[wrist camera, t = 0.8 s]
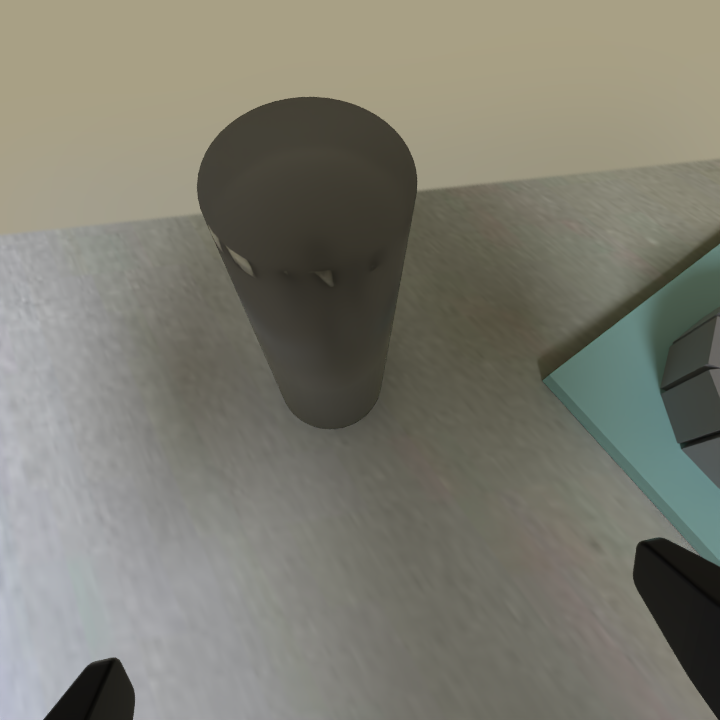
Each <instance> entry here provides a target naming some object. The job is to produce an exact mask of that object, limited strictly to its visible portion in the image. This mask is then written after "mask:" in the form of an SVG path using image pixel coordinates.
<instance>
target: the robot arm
mask: <svg viewBox="0 0 720 720" xmlns="http://www.w3.org/2000/svg"><path fill="white" fill-rule="evenodd" d="M633 580H634V583H635V586H636V588H637V590H638V592H639V594H640V595H641V597H642V599H643V600H644V602H645V604H646V606H647V607H648V609H649V611H650V612H651V614H652V616H653V618H654V619H655V621H656V623H657V624H658V626H659V628H660V630H661V631H662V633H663V635H664V636H665V638H666V640H667V642H668V643H669V645H670V647H671V649H672V650H673V652H674V654H675V655H676V657H677V659H678V661H679V662H680V664H681V665H682V667H683V669H684V670H685V672H686V674H687V675H688V677H689V678H690V680H691V681H692V683H693V684H694V686H695V687H696V689H697V690H698V692H699V693H700V694H701V696H702V697H703V699H704V700H705V702H706V703H707V704H708V706H709V707H710V709H711V710H712V711H713V713H714V714H715V716H716V717H717V719H718V720H720V566H718V565H716V564H714V563H712V562H710V561H708V560H706V559H704V558H702V557H700V556H698V555H696V554H695V553H693V552H691V551H689V550H687V549H685V548H683V547H681V546H679V545H677V544H675V543H673V542H671V541H669V540H667V539H664V538H653V539H648V540H644V541H641V542H639V543H638V545H637V547H636V554H635V562H634V569H633ZM134 707H135V693H134V689H133V686H132V684H131V682H130V680H129V678H128V676H127V674H126V672H125V669H124V667H123V665H122V663H121V662H120V660H119V659H117V658H108V659H104V660H99V661H95V662H92V663H91V664H89V665H88V666H87V667H86V668H85V669H84V670H83V671H82V673H81V674H80V675H79V676H78V678H77V679H76V680H75V681H74V682H73V684H72V685H71V686H70V687H69V689H68V690H67V691H66V692H65V694H64V695H63V696H62V697H61V698H60V700H59V701H58V702H57V703H56V705H55V706H54V707H53V708H52V710H51V711H50V712H49V713H48V715H47V716H46V717H45V718H44V719H43V720H133V715H134Z"/></svg>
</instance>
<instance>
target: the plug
mask: <svg viewBox="0 0 720 720" xmlns="http://www.w3.org/2000/svg"><path fill="white" fill-rule="evenodd" d="M197 192H198V200H199V204H200V209H201V211H202V214H203V216H204V218H205V221H206V223H207V225H208V227H209V230H210V232H211V234H212V237H213V239H214V241H215V243H216V246H217V248H218V250H219V252H220V255H221V257H222V259H223V262H224V264H225V266H226V268H227V271H228V273H229V275H230V277H231V280H232V282H233V284H234V286H235V289H236V291H237V293H238V296H239V298H240V300H241V302H242V305H243V307H244V309H245V311H246V314H247V316H248V318H249V321H250V323H251V325H252V327H253V330H254V332H255V334H256V336H257V339H258V341H259V343H260V346H261V348H262V350H263V352H264V355H265V357H266V359H267V361H268V364H269V366H270V368H271V370H272V373H273V375H274V377H275V380H276V382H277V384H278V386H279V389H280V391H281V393H282V395H283V398H284V400H285V402H286V404H287V406H288V407H289V409H290V410H291V411H292V412H293V414H294V415H296V416H297V417H298V418H299V419H300V420H302V421H303V422H305V423H307V424H309V425H312V426H314V427H318V428H323V429H337V428H343V427H346V426H349V425H351V424H354V423H356V422H357V421H359V420H361V419H362V418H363V417H364V416H366V415H367V414H368V412H369V411H370V410H371V409H372V408H373V406H374V405H375V403H376V401H377V399H378V396H379V393H380V389H381V384H382V378H383V373H384V368H385V362H386V357H387V351H388V346H389V340H390V335H391V329H392V324H393V319H394V313H395V308H396V302H397V297H398V291H399V286H400V280H401V275H402V270H403V264H404V259H405V253H406V248H407V242H408V237H409V231H410V226H411V221H412V215H413V210H414V204H415V199H416V193H417V174H416V168H415V164H414V160H413V158H412V155H411V153H410V151H409V149H408V147H407V145H406V144H405V142H404V141H403V139H402V138H401V137H400V136H399V134H398V133H397V132H396V131H395V130H394V129H393V128H392V127H391V126H390V125H389V124H388V123H386V122H385V121H384V120H382V119H381V118H380V117H378V116H377V115H375V114H373V113H371V112H370V111H367V110H366V109H364V108H361V107H359V106H356V105H354V104H351V103H348V102H344V101H340V100H335V99H330V98H319V97H298V98H290V99H284V100H279V101H275V102H272V103H268V104H265V105H262V106H260V107H258V108H255V109H253V110H251V111H249V112H247V113H246V114H244V115H242V116H240V117H239V118H237V119H236V120H234V121H233V122H232V123H231V124H229V125H228V126H227V127H226V128H225V129H224V130H223V131H221V132H220V133H219V135H218V136H217V137H216V138H215V139H214V141H213V142H212V143H211V145H210V147H209V148H208V150H207V151H206V153H205V156H204V158H203V160H202V163H201V166H200V170H199V173H198V182H197Z"/></svg>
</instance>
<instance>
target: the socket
mask: <svg viewBox="0 0 720 720" xmlns="http://www.w3.org/2000/svg"><path fill="white" fill-rule="evenodd" d="M543 382H544V383H545V384H546V385H547V386H548V388H549V389H550V390H551V391H552V392H553V393H554V394H555V395H556V396H557V397H558V399H559V400H560V401H561V402H562V403H563V404H564V405H565V406H566V407H567V408H568V410H569V411H570V412H571V413H572V414H573V415H574V416H575V417H576V418H577V420H578V421H579V422H580V423H581V424H582V425H583V426H584V427H585V428H586V429H587V431H588V432H589V433H590V434H591V435H592V436H593V437H594V438H595V439H596V441H597V442H598V443H599V444H600V445H601V446H602V447H603V448H604V449H605V450H606V452H607V453H608V454H609V455H610V456H611V457H612V458H613V459H614V460H615V462H616V463H617V464H618V465H619V466H620V467H621V468H622V469H623V470H624V471H625V473H626V474H627V475H628V476H629V477H630V478H631V479H632V480H633V481H634V482H635V484H636V485H637V486H638V487H639V488H640V489H641V490H642V491H643V492H644V494H645V495H646V496H647V497H648V498H649V499H650V500H651V501H652V502H653V503H654V505H655V506H656V507H657V508H658V509H659V510H660V511H661V512H662V513H663V515H664V516H665V517H666V518H667V519H668V520H669V521H670V522H671V523H672V524H673V526H674V527H675V528H676V529H677V530H678V531H679V532H680V533H681V534H682V536H683V537H684V538H685V539H686V540H687V541H688V542H689V543H690V544H691V545H692V547H693V548H694V549H695V550H696V551H697V552H698V553H699V554H700V555H701V556H702V558H704V559H706V560H708V561H710V562H712V563H714V564H716V565H718V566H720V244H719V245H718V246H716V247H715V248H714V249H712V250H711V251H710V252H708V253H707V254H706V255H705V256H703V257H702V258H701V259H699V260H698V261H697V262H695V263H694V264H693V265H692V266H690V267H689V268H688V269H686V270H685V271H684V272H682V273H681V274H680V275H679V276H677V277H676V278H675V279H673V280H672V281H671V282H669V283H668V284H667V285H666V286H664V287H663V288H662V289H660V290H659V291H658V292H656V293H655V294H654V295H652V296H651V297H650V298H649V299H647V300H646V301H645V302H643V303H642V304H641V305H639V306H638V307H637V308H636V309H634V310H633V311H632V312H630V313H629V314H628V315H626V316H625V317H624V318H623V319H621V320H620V321H619V322H617V323H616V324H615V325H613V326H612V327H611V328H610V329H608V330H607V331H606V332H604V333H603V334H602V335H600V336H599V337H598V338H596V339H595V340H594V341H593V342H591V343H590V344H589V345H587V346H586V347H585V348H583V349H582V350H581V351H580V352H578V353H577V354H576V355H574V356H573V357H572V358H570V359H569V360H568V361H567V362H565V363H564V364H563V365H561V366H560V367H559V368H557V369H556V370H555V371H554V372H552V373H551V374H550V375H548V376H547V377H546V378H545V379H544V380H543Z"/></svg>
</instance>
